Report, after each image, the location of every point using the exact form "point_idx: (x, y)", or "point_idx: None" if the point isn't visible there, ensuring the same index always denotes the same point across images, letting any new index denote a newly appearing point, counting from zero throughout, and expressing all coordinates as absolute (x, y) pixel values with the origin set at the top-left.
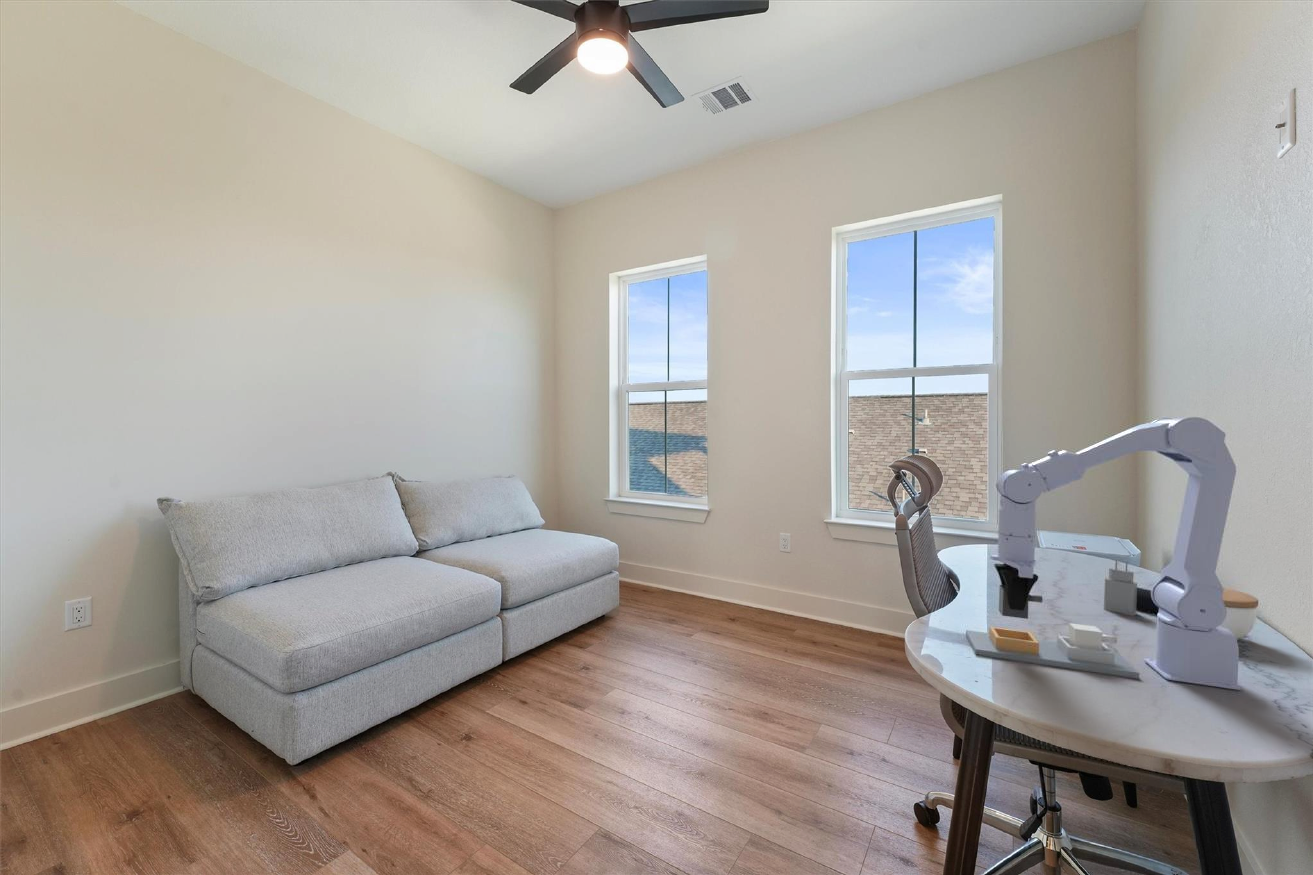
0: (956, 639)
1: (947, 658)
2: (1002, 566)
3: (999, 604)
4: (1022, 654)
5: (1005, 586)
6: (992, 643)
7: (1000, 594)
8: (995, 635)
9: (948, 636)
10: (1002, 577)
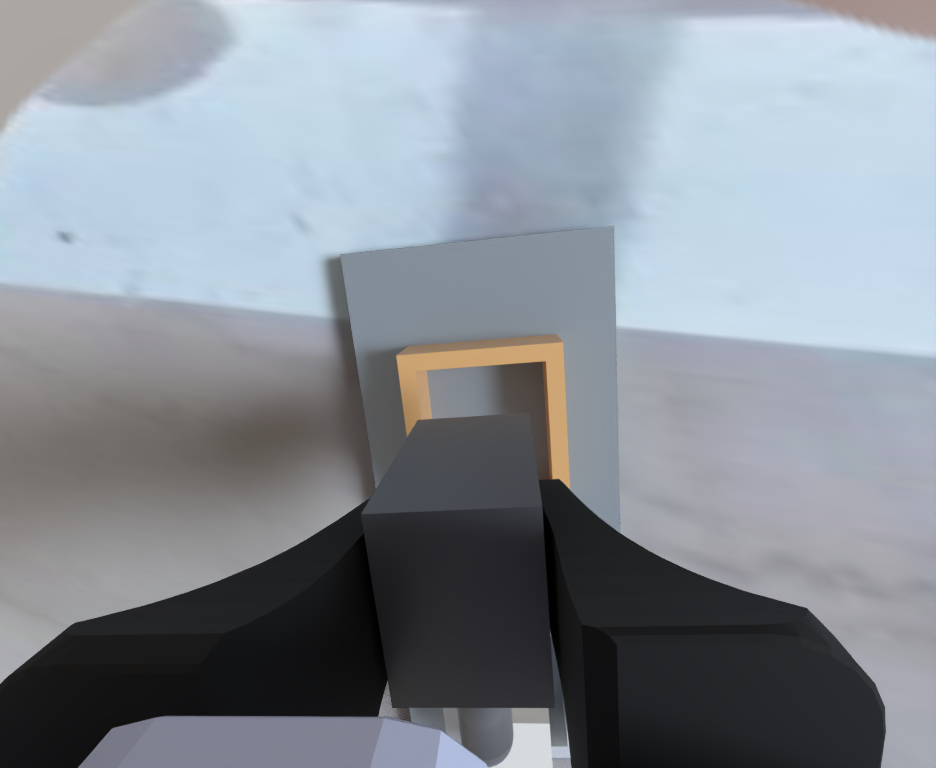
0: (514, 177)
1: (229, 128)
2: (622, 744)
3: (516, 430)
4: (384, 441)
5: (496, 551)
6: (462, 338)
7: (488, 467)
8: (423, 355)
9: (542, 136)
10: (565, 590)
